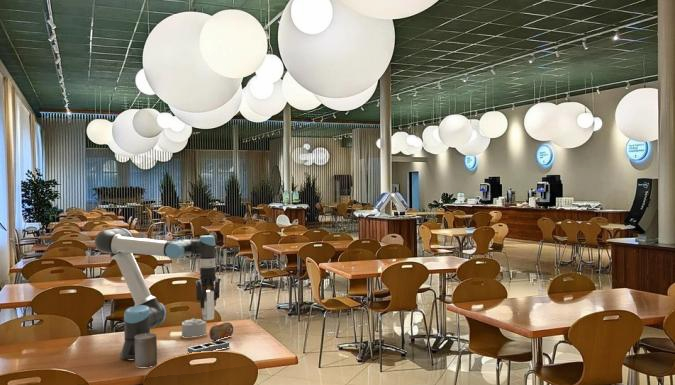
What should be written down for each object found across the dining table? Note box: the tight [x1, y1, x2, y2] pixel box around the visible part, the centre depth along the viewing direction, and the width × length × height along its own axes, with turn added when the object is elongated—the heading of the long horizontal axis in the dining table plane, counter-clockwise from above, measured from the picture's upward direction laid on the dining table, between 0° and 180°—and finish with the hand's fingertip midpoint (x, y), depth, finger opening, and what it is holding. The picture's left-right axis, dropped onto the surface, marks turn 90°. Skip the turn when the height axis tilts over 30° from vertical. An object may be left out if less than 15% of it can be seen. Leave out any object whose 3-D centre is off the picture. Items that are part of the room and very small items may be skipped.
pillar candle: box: [134, 332, 158, 368], centre depth 268 cm, size 10×10×15 cm
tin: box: [208, 322, 234, 341], centre depth 314 cm, size 15×3×8 cm, turn 143°
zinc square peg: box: [202, 289, 215, 321], centre depth 291 cm, size 4×4×14 cm
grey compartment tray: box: [187, 340, 230, 353], centre depth 291 cm, size 19×7×3 cm, turn 134°
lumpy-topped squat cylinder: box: [181, 318, 207, 337], centre depth 322 cm, size 10×13×9 cm
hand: (208, 313), depth 291 cm, fingers closed on zinc square peg, 4 cm apart
